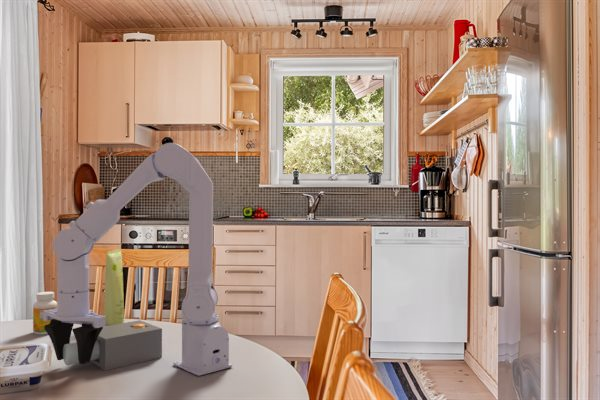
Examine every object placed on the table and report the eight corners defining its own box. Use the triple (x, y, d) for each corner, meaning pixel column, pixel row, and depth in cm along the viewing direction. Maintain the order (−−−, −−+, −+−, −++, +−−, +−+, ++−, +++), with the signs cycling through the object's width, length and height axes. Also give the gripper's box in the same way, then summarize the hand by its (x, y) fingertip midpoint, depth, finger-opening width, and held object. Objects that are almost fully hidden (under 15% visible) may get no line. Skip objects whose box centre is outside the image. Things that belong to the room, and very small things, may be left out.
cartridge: (126, 349, 111) (126, 330, 111) (135, 354, 108) (135, 334, 108) (62, 362, 102) (62, 342, 102) (70, 367, 99) (70, 346, 99)
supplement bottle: (33, 330, 130) (33, 291, 130) (57, 328, 133) (57, 290, 133) (32, 336, 125) (32, 295, 125) (57, 333, 128) (57, 293, 128)
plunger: (141, 337, 112) (141, 323, 112) (147, 340, 111) (147, 325, 111) (131, 339, 111) (131, 324, 111) (136, 342, 109) (136, 326, 109)
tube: (126, 324, 137) (126, 250, 137) (106, 327, 134) (106, 251, 134) (121, 320, 142) (121, 248, 141) (101, 322, 139) (101, 249, 139)
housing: (139, 347, 116) (139, 320, 116) (161, 357, 109) (161, 328, 109) (85, 358, 108) (85, 329, 108) (105, 370, 101) (105, 339, 101)
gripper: (117, 290, 102) (117, 359, 102) (63, 285, 108) (63, 350, 108) (88, 296, 96) (88, 370, 96) (33, 290, 102) (33, 360, 102)
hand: (73, 360), depth 101 cm, fingers open, 5 cm apart
